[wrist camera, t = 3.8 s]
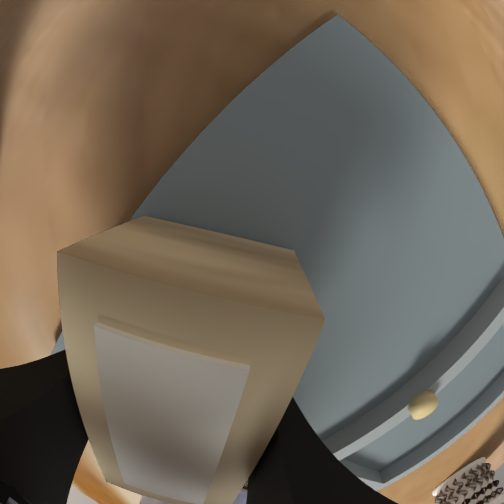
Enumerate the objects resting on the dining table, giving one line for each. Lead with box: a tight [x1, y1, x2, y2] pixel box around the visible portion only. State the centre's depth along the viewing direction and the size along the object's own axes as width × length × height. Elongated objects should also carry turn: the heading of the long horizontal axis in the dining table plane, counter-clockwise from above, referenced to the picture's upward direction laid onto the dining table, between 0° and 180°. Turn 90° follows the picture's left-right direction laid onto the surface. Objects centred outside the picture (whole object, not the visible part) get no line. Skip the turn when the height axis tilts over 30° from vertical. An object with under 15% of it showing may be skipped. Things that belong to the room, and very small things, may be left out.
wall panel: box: [51, 15, 504, 491], centre depth 10 cm, size 20×24×3 cm
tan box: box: [57, 216, 325, 504], centre depth 8 cm, size 10×5×5 cm, turn 167°
